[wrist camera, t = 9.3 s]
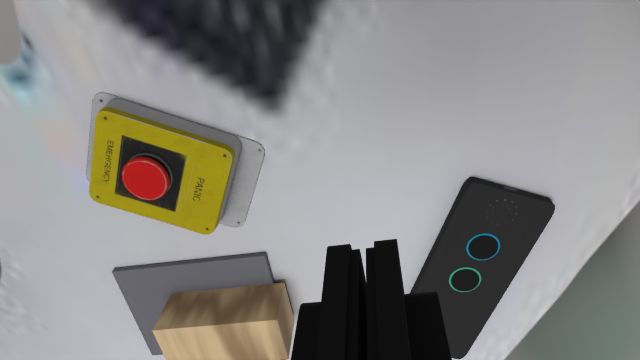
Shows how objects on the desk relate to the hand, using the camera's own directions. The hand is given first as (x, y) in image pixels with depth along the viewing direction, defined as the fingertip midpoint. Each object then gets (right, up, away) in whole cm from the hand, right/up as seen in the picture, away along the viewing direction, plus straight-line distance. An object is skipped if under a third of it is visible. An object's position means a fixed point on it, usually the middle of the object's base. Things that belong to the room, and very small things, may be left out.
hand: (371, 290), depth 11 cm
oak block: (-5, -11, +33) cm, 35 cm away
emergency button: (-14, +4, +30) cm, 33 cm away
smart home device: (+13, -6, +33) cm, 36 cm away
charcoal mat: (-13, -11, +37) cm, 41 cm away
